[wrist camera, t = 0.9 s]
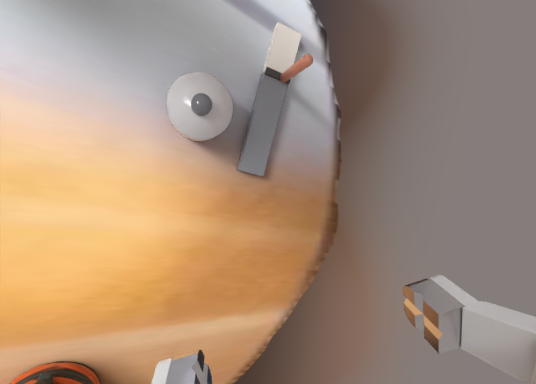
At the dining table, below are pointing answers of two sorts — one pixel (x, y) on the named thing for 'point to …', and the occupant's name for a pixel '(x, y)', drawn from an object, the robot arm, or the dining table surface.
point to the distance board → (271, 98)
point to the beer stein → (58, 374)
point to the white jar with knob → (199, 106)
